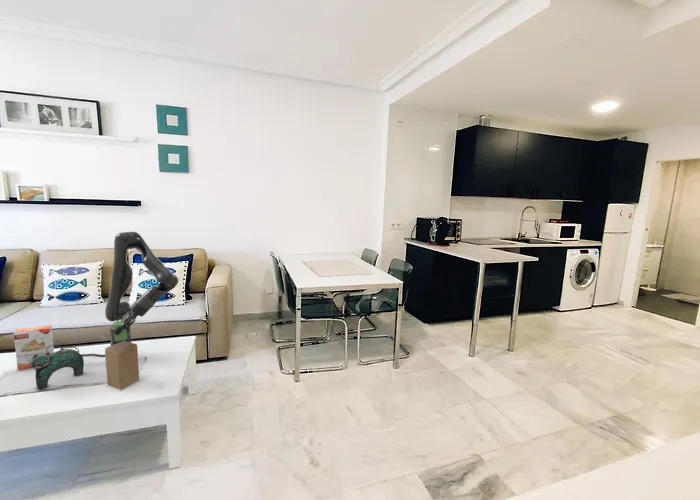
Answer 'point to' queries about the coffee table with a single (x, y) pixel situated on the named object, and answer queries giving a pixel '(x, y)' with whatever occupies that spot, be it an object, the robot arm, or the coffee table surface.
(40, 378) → the ceramic cat
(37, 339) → the cracker box
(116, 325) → the green block
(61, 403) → the coffee table surface
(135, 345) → the wooden block
